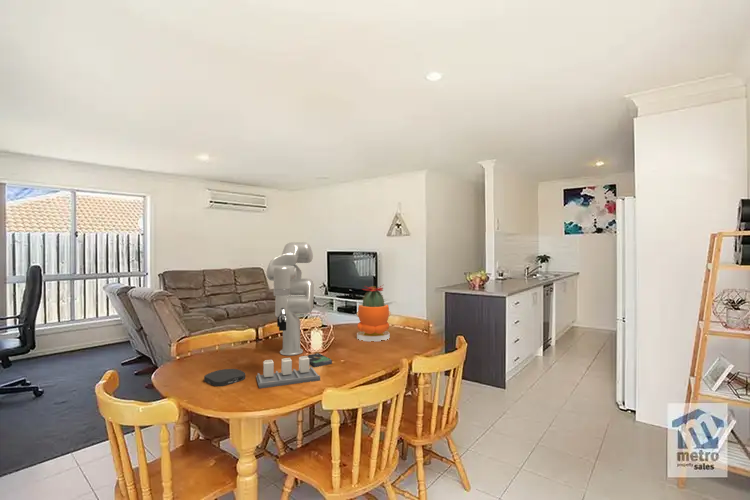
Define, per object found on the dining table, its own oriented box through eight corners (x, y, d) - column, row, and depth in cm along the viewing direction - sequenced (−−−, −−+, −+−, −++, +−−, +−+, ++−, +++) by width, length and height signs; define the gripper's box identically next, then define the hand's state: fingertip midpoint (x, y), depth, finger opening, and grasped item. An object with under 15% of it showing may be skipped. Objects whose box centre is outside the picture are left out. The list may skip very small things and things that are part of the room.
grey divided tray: (256, 377, 169) (256, 373, 169) (312, 370, 179) (312, 366, 179) (259, 388, 156) (259, 383, 156) (320, 380, 166) (320, 375, 166)
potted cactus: (355, 335, 252) (356, 283, 252) (388, 334, 254) (388, 283, 254) (357, 343, 230) (358, 286, 230) (393, 342, 233) (394, 286, 233)
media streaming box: (231, 372, 177) (231, 366, 177) (248, 379, 168) (248, 372, 168) (200, 380, 166) (200, 374, 166) (217, 388, 157) (217, 381, 157)
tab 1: (263, 374, 169) (263, 359, 169) (272, 373, 171) (272, 358, 171) (264, 377, 165) (264, 362, 165) (273, 376, 167) (273, 361, 167)
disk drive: (300, 361, 196) (314, 368, 184) (300, 356, 196) (314, 362, 184) (318, 358, 202) (332, 364, 190) (318, 352, 202) (332, 359, 190)
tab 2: (281, 372, 172) (281, 357, 172) (290, 371, 174) (290, 356, 174) (282, 375, 169) (282, 360, 168) (291, 374, 170) (291, 359, 170)
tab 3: (298, 370, 175) (298, 355, 175) (307, 369, 177) (307, 354, 177) (300, 372, 172) (300, 358, 172) (309, 371, 173) (309, 357, 173)
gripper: (272, 290, 185) (272, 325, 185) (275, 294, 169) (274, 332, 168) (287, 290, 187) (287, 324, 187) (292, 294, 171) (291, 331, 171)
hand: (281, 328), depth 178 cm, fingers open, 9 cm apart
